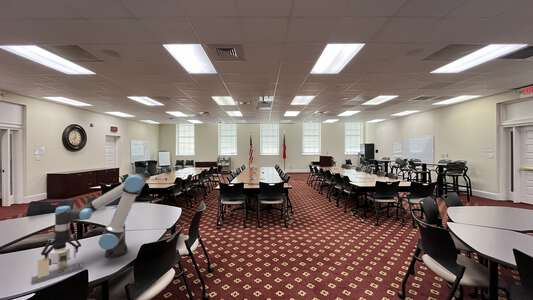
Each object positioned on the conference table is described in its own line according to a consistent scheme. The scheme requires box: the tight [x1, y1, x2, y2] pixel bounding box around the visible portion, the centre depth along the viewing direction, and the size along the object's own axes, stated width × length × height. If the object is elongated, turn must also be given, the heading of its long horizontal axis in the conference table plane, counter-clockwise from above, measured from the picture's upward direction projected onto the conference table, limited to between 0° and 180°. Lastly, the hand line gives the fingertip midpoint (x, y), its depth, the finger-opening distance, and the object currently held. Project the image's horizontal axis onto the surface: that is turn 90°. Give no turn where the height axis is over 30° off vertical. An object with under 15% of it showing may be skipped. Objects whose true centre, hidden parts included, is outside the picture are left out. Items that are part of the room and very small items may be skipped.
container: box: [49, 242, 70, 264], centre depth 165 cm, size 8×8×13 cm
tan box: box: [57, 251, 68, 270], centre depth 156 cm, size 6×4×10 cm, turn 48°
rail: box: [31, 257, 84, 285], centre depth 148 cm, size 24×6×12 cm, turn 138°
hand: (61, 260), depth 156 cm, fingers open, 13 cm apart
